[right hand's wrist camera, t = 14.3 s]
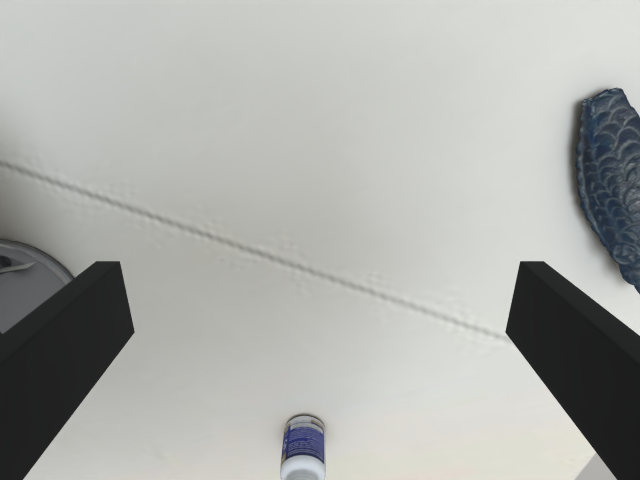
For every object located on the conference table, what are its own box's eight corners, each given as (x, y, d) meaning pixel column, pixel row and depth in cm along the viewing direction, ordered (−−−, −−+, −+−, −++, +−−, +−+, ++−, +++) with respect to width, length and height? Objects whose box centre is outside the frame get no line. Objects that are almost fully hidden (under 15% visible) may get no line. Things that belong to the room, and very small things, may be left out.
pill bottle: (279, 418, 49) (271, 485, 40) (320, 411, 48) (320, 478, 40) (290, 448, 51) (284, 518, 42) (329, 441, 50) (331, 511, 42)
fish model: (598, 294, 42) (633, 319, 37) (548, 113, 35) (583, 116, 31) (661, 269, 41) (705, 291, 36) (622, 77, 34) (670, 75, 30)
